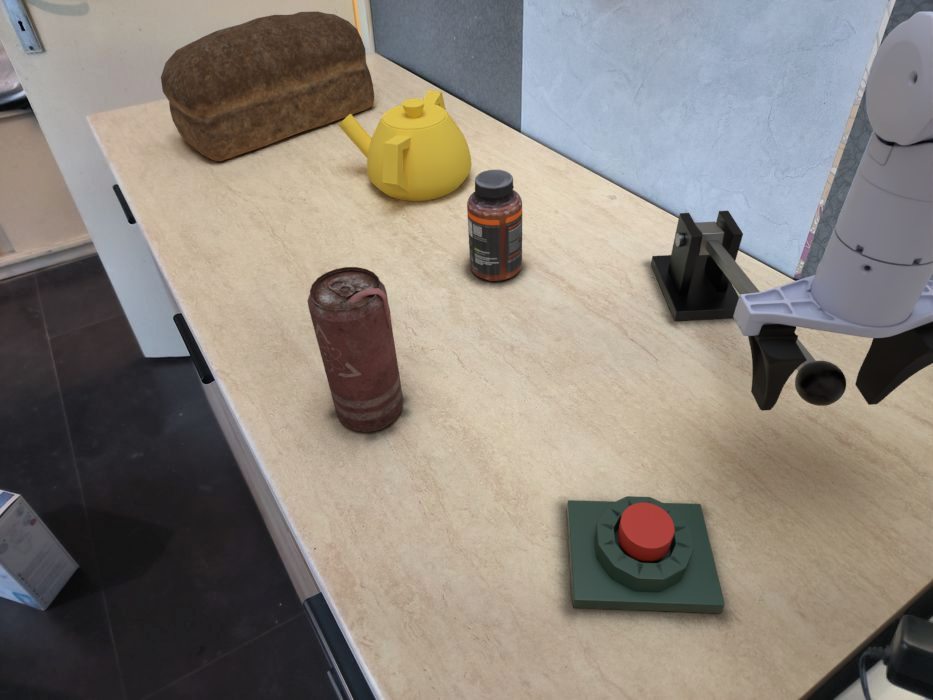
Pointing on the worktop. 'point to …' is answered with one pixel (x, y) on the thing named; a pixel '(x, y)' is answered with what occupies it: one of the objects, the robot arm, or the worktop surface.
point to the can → (357, 347)
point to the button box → (641, 582)
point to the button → (645, 531)
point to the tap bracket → (698, 272)
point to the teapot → (414, 149)
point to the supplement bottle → (495, 226)
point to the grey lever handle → (814, 377)
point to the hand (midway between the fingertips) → (813, 397)
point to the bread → (266, 81)
